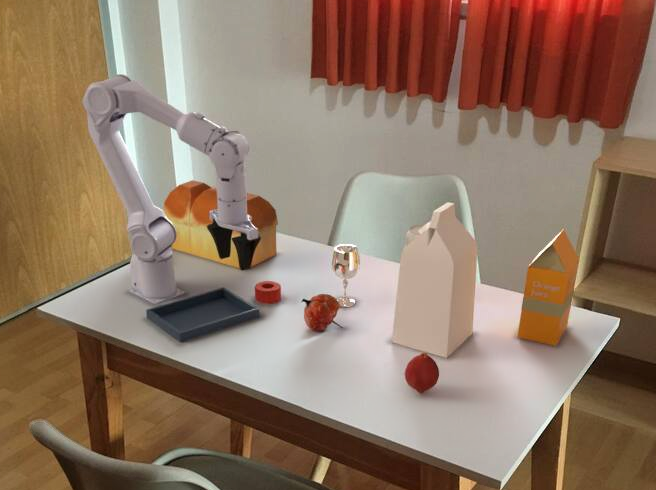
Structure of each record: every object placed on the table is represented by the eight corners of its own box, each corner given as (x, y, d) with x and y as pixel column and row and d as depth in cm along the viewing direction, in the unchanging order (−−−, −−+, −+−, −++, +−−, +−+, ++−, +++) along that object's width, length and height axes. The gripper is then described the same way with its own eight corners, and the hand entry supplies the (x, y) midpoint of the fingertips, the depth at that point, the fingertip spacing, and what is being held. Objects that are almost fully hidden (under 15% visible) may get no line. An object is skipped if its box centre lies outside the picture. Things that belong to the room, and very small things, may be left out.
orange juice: (567, 327, 164) (585, 231, 153) (556, 346, 157) (574, 246, 146) (528, 319, 167) (543, 224, 156) (516, 337, 160) (530, 239, 150)
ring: (250, 300, 174) (249, 287, 172) (266, 292, 177) (265, 278, 176) (270, 307, 171) (269, 293, 169) (285, 298, 175) (285, 284, 173)
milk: (446, 357, 153) (460, 222, 139) (391, 342, 158) (399, 210, 144) (472, 333, 161) (487, 203, 148) (419, 319, 167) (429, 193, 153)
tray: (146, 319, 166) (145, 309, 165) (224, 296, 176) (223, 287, 174) (180, 344, 157) (179, 333, 156) (259, 318, 167) (259, 308, 165)
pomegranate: (335, 329, 168) (296, 300, 165) (357, 306, 163) (317, 276, 161) (328, 349, 162) (288, 319, 159) (351, 326, 157) (310, 295, 155)
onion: (400, 384, 144) (403, 343, 140) (433, 383, 145) (437, 342, 141) (406, 401, 139) (410, 360, 135) (440, 400, 140) (444, 359, 136)
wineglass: (327, 305, 172) (327, 251, 166) (336, 295, 176) (337, 241, 170) (353, 310, 170) (354, 255, 164) (362, 299, 175) (364, 245, 168)
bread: (278, 254, 196) (277, 193, 189) (245, 270, 188) (243, 207, 180) (200, 232, 209) (196, 174, 201) (165, 247, 200) (160, 187, 192)
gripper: (270, 203, 157) (271, 269, 164) (228, 184, 167) (232, 248, 174) (239, 210, 153) (242, 278, 160) (198, 191, 163) (203, 256, 170)
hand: (235, 263), depth 167 cm, fingers open, 7 cm apart
